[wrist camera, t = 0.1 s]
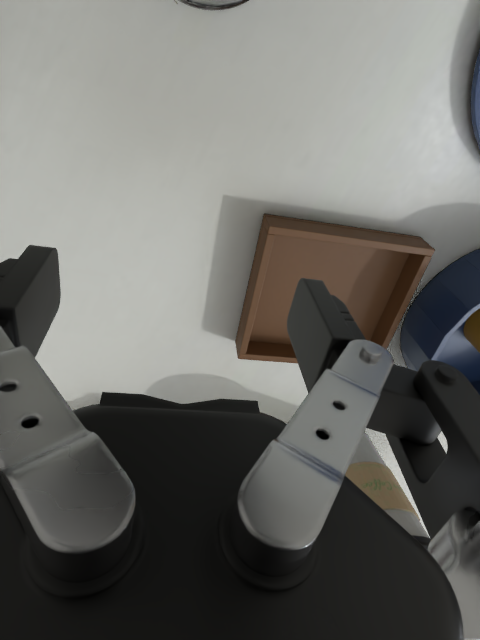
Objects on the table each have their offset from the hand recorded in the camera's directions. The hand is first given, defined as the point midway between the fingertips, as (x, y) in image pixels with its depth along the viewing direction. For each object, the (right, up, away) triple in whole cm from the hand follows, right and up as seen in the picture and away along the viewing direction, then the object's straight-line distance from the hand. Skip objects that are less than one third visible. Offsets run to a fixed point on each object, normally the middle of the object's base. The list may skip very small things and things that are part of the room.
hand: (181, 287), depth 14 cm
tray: (+9, +1, +21) cm, 23 cm away
